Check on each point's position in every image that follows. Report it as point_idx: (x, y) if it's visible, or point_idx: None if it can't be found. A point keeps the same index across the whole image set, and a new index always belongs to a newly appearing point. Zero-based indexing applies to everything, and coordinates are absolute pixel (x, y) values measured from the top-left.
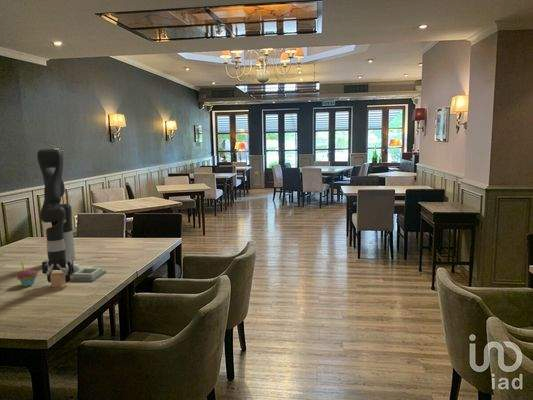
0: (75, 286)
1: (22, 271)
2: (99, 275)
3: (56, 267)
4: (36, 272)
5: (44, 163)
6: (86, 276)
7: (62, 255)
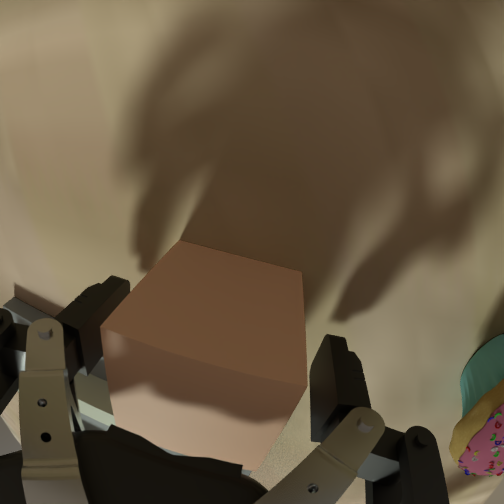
0: (57, 219)
1: None
2: None
3: (156, 497)
4: (466, 457)
5: None
6: None
7: None
